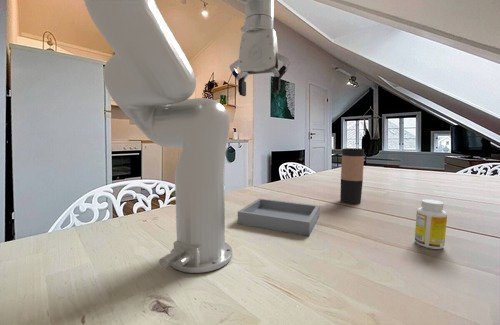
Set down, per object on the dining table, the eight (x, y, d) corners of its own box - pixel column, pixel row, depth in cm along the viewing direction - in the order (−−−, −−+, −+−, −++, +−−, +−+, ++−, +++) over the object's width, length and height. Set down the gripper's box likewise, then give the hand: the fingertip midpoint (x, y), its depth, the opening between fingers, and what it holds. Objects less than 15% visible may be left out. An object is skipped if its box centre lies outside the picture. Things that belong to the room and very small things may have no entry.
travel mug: (335, 199, 95) (337, 148, 93) (351, 198, 98) (354, 148, 95) (348, 205, 88) (351, 149, 86) (366, 203, 90) (369, 149, 88)
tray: (309, 236, 61) (309, 222, 60) (237, 223, 69) (237, 211, 69) (319, 216, 75) (319, 205, 75) (259, 208, 84) (259, 198, 83)
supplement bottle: (447, 245, 56) (451, 202, 55) (440, 252, 53) (444, 206, 52) (418, 237, 60) (422, 197, 59) (410, 243, 57) (414, 200, 56)
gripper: (223, 28, 65) (224, 94, 67) (287, 16, 58) (286, 90, 60) (236, 38, 72) (236, 98, 74) (294, 28, 65) (293, 94, 67)
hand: (258, 94), depth 67 cm, fingers open, 9 cm apart
